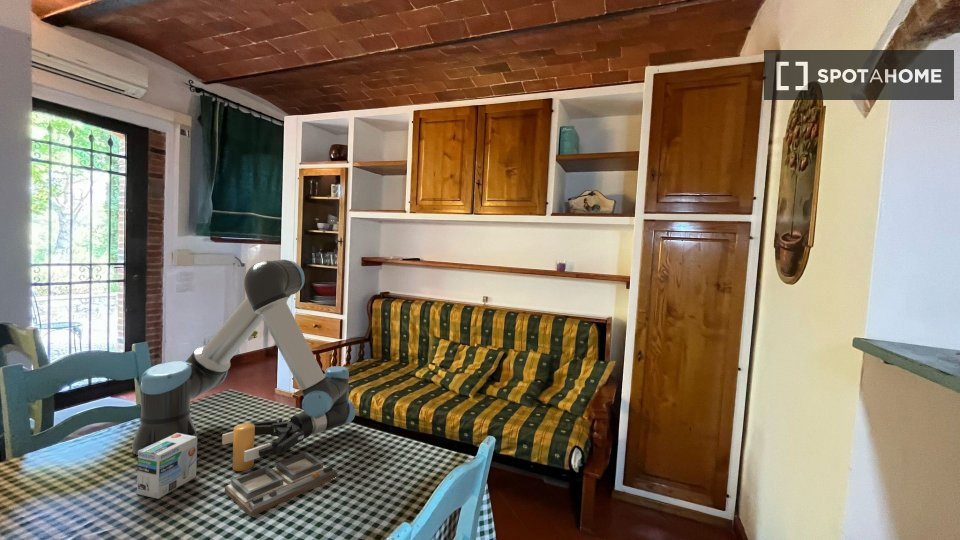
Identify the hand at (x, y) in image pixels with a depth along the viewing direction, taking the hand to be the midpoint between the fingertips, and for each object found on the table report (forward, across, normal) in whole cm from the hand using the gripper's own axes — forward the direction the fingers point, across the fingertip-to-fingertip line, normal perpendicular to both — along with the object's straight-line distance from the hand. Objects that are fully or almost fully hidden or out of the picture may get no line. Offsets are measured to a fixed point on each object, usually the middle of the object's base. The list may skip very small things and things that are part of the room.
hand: (233, 447), depth 111 cm
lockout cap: (-3, 0, -6) cm, 7 cm away
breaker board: (-6, -16, -6) cm, 18 cm away
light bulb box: (+13, +4, -6) cm, 15 cm away
